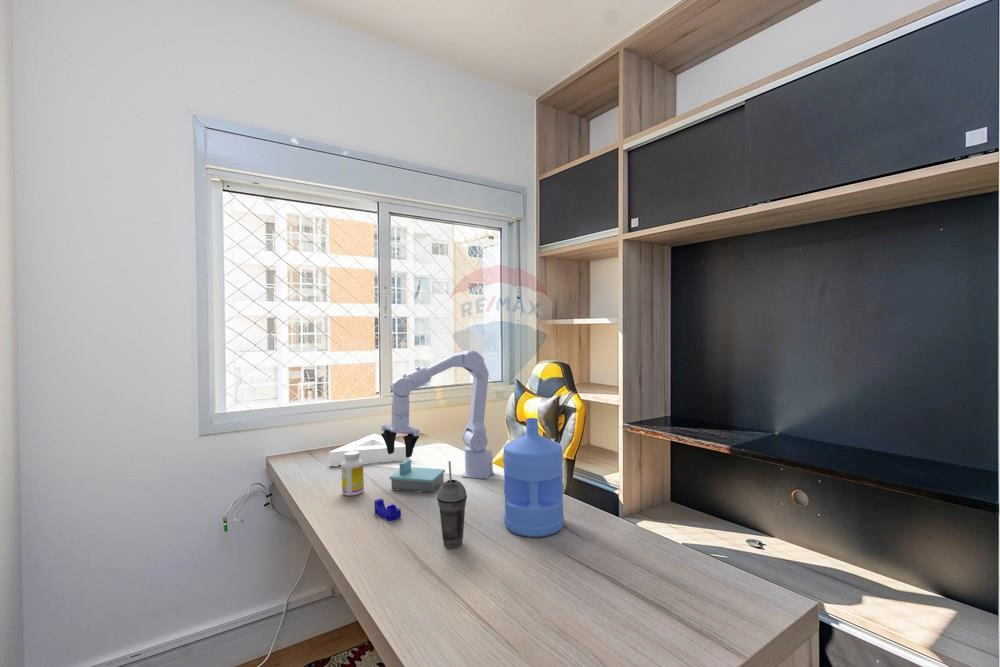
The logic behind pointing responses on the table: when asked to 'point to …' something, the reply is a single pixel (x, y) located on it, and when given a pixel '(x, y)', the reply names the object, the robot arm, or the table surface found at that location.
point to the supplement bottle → (352, 474)
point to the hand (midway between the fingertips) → (399, 455)
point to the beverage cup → (452, 511)
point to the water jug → (533, 484)
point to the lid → (416, 473)
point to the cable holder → (386, 510)
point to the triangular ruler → (369, 451)
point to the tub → (417, 485)
